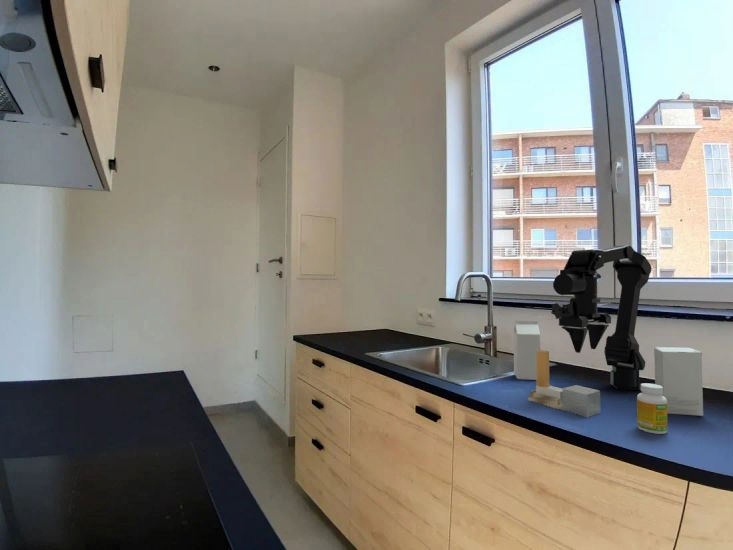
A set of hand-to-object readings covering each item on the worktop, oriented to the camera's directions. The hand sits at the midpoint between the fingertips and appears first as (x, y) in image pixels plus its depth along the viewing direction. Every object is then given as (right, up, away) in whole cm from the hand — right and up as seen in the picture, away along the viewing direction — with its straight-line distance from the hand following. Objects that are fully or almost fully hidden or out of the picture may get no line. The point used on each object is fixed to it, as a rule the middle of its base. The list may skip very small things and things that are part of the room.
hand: (585, 350), depth 111 cm
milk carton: (-7, -14, +23) cm, 27 cm away
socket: (-7, -13, -12) cm, 19 cm away
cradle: (-12, -13, -5) cm, 18 cm away
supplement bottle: (+2, -13, -23) cm, 27 cm away
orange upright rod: (-12, -12, -4) cm, 18 cm away
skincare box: (+17, -13, -11) cm, 24 cm away
